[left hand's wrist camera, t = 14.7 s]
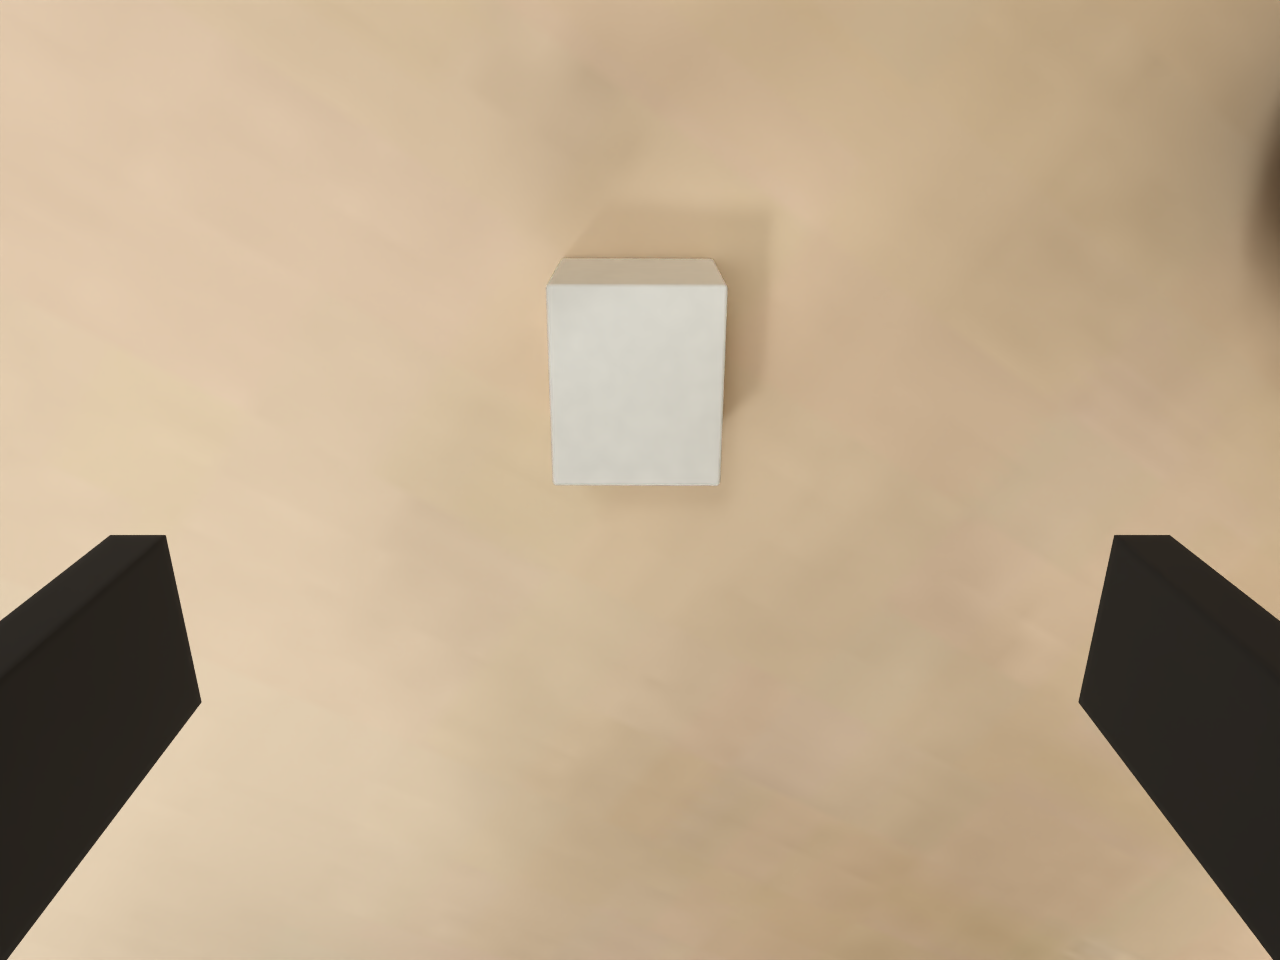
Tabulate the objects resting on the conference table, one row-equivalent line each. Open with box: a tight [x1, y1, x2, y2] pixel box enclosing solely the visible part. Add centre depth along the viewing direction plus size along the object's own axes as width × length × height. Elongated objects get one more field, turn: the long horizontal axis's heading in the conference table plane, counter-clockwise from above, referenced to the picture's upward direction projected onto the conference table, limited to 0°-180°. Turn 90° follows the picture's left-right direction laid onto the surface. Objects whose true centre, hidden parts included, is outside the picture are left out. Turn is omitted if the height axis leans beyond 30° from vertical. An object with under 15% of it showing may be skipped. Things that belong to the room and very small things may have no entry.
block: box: [546, 258, 728, 486], centre depth 24 cm, size 5×4×4 cm
